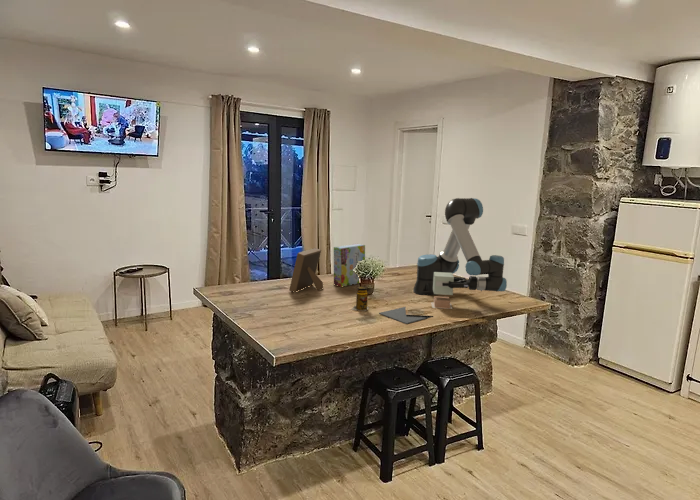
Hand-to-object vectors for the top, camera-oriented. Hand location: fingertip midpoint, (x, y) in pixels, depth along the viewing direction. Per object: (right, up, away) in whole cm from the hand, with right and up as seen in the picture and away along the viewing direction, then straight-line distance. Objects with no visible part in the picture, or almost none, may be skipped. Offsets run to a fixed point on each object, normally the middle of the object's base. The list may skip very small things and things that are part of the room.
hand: (435, 281), depth 255 cm
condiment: (-41, -15, -2) cm, 44 cm away
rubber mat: (-18, -17, -12) cm, 28 cm away
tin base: (+4, -15, +2) cm, 16 cm away
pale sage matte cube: (+4, -6, +1) cm, 7 cm away
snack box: (-48, -6, +52) cm, 71 cm away
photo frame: (-73, -8, +35) cm, 81 cm away
